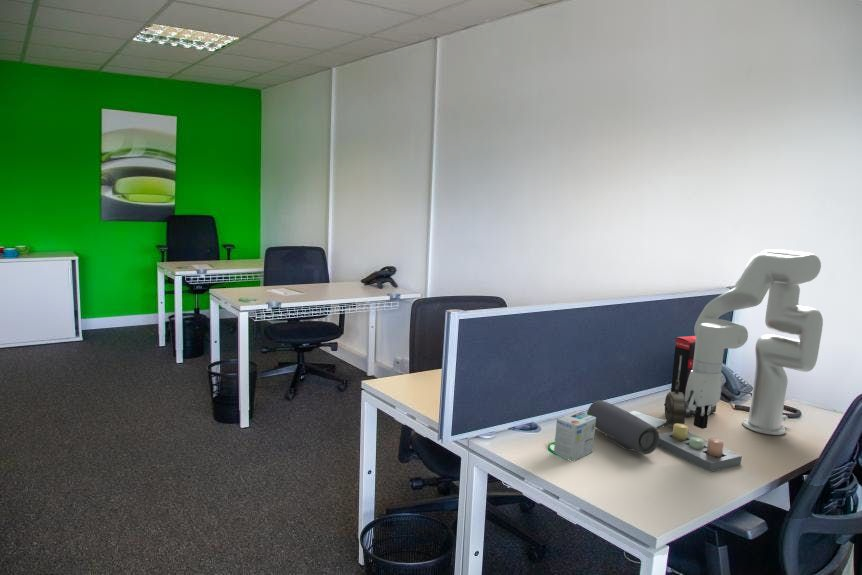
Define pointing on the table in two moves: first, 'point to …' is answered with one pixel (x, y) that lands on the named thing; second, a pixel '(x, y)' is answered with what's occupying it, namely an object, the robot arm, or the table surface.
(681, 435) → the ochre button
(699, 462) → the button board
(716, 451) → the terracotta button
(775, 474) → the table surface
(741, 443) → the table surface
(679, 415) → the alarm clock
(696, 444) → the green button
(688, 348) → the graphics card box
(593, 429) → the light bulb box
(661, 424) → the external hard drive
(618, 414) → the bluetooth speaker
